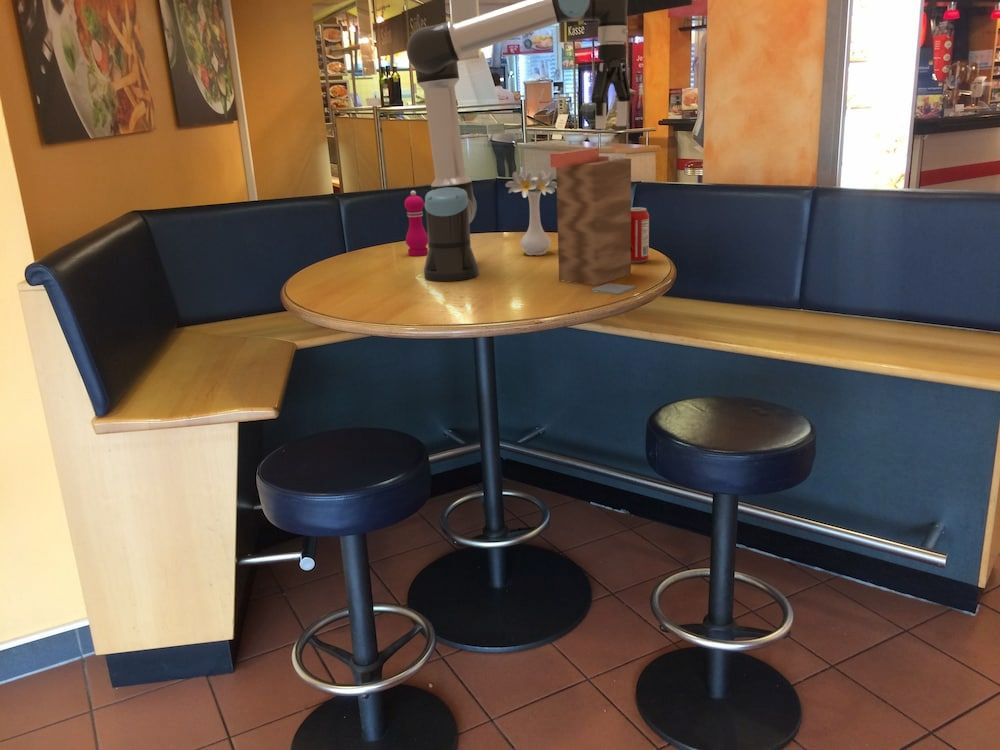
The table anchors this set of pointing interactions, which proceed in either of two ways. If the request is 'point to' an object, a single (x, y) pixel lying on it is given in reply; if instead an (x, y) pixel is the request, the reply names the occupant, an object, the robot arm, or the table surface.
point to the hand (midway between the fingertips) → (611, 127)
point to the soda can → (639, 235)
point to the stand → (594, 221)
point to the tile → (613, 288)
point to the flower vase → (533, 208)
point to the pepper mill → (416, 226)
